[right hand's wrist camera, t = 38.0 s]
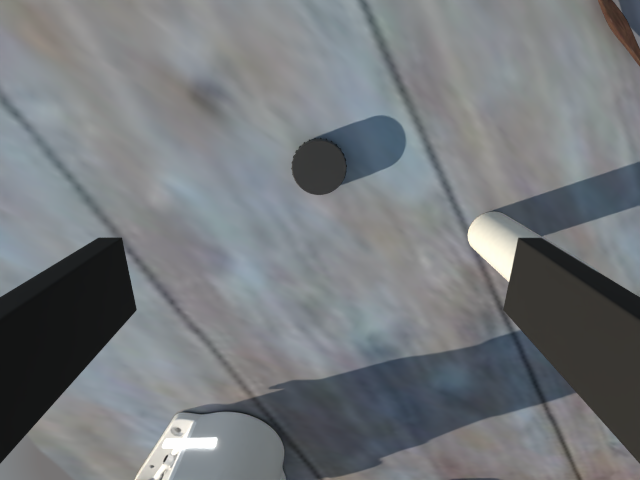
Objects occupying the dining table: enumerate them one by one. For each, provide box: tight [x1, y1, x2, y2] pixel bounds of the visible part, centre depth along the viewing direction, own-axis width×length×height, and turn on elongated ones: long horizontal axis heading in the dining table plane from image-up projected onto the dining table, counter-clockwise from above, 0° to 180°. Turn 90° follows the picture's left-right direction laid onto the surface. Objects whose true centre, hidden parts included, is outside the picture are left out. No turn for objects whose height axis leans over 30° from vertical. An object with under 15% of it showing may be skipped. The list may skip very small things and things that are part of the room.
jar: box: [468, 212, 598, 282], centre depth 32 cm, size 5×5×15 cm
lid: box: [291, 138, 347, 195], centre depth 36 cm, size 5×5×2 cm
